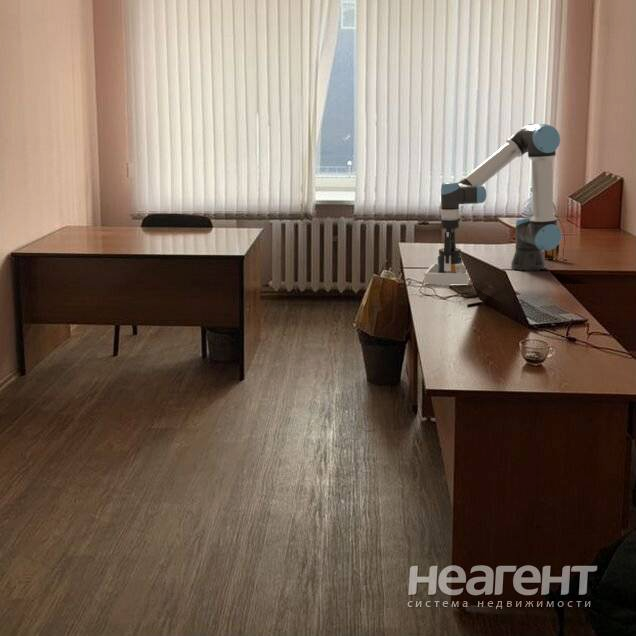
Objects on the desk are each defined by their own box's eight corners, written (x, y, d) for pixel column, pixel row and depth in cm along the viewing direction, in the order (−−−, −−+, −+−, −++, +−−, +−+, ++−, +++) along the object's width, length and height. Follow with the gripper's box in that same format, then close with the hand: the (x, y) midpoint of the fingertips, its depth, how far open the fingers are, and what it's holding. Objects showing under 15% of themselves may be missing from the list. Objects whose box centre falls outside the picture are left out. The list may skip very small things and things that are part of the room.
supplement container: (463, 279, 430) (463, 251, 427) (438, 279, 430) (438, 251, 427) (460, 274, 440) (460, 247, 437) (436, 275, 440) (436, 247, 438)
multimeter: (574, 259, 480) (575, 217, 475) (561, 261, 474) (562, 219, 469) (549, 256, 491) (550, 215, 487) (536, 258, 485) (537, 217, 481)
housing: (433, 274, 449) (433, 263, 448) (473, 275, 444) (474, 264, 443) (424, 284, 426) (424, 273, 425) (467, 285, 421) (467, 274, 420)
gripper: (445, 215, 442) (445, 263, 447) (436, 222, 419) (436, 272, 423) (462, 215, 440) (462, 263, 445) (454, 222, 417) (454, 273, 421)
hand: (449, 268), depth 434 cm, fingers open, 13 cm apart
